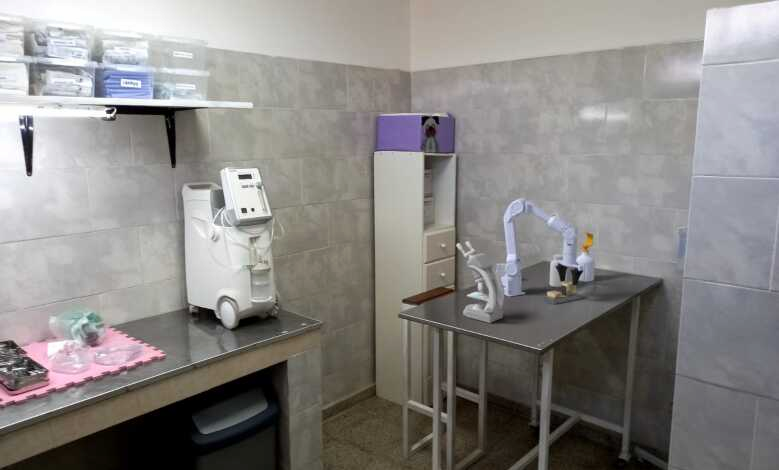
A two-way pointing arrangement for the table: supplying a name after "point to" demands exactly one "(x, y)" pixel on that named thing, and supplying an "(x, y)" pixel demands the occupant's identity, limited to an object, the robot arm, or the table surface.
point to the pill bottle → (556, 272)
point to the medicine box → (501, 270)
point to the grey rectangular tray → (562, 298)
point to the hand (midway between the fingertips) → (568, 283)
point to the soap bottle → (587, 261)
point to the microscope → (492, 301)
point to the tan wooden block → (568, 289)
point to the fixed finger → (554, 294)
